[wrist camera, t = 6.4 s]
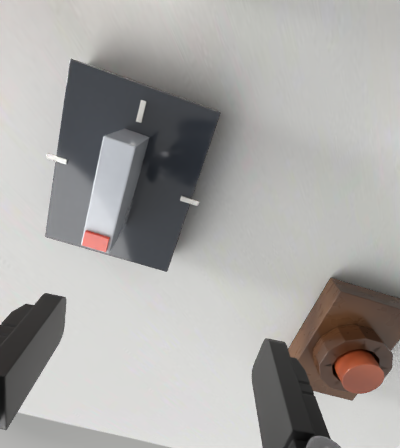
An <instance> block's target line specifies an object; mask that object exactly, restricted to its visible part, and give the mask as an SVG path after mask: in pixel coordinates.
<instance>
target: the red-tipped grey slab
mask: <svg viewBox="0 0 400 448" xmlns="http://www.w3.org/2000/svg"><path fill="white" fill-rule="evenodd" d="M148 141H149V137H147V136H145V135H142V134H139V133H136V132H133V131H130V130H127V129H122V130H119V131H116V132H113V133H110V134H108V135H105V136H103V141H102V145H101V150H100V155H99V160H98V165H97V170H96V174H95V179H94V184H93V189H92V194H91V199H90V203H89V208H88V213H87V218H86V223H85V227H84V232H83V237H82V242H81V245H82V246H85V247H88V248H91V249H95V250H98V251H101V252H105V253H109V252H110V251H111V249H112V247H113V246H114V244H115V243H116V241H117V239H118V238H119V236H120V234H121V233H122V231H123V230H124V228H125V226H126V224H127V220H128V216H129V212H130V208H131V205H132V201H133V197H134V193H135V190H136V186H137V182H138V178H139V175H140V171H141V167H142V163H143V160H144V156H145V152H146V148H147V145H148Z"/></svg>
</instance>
